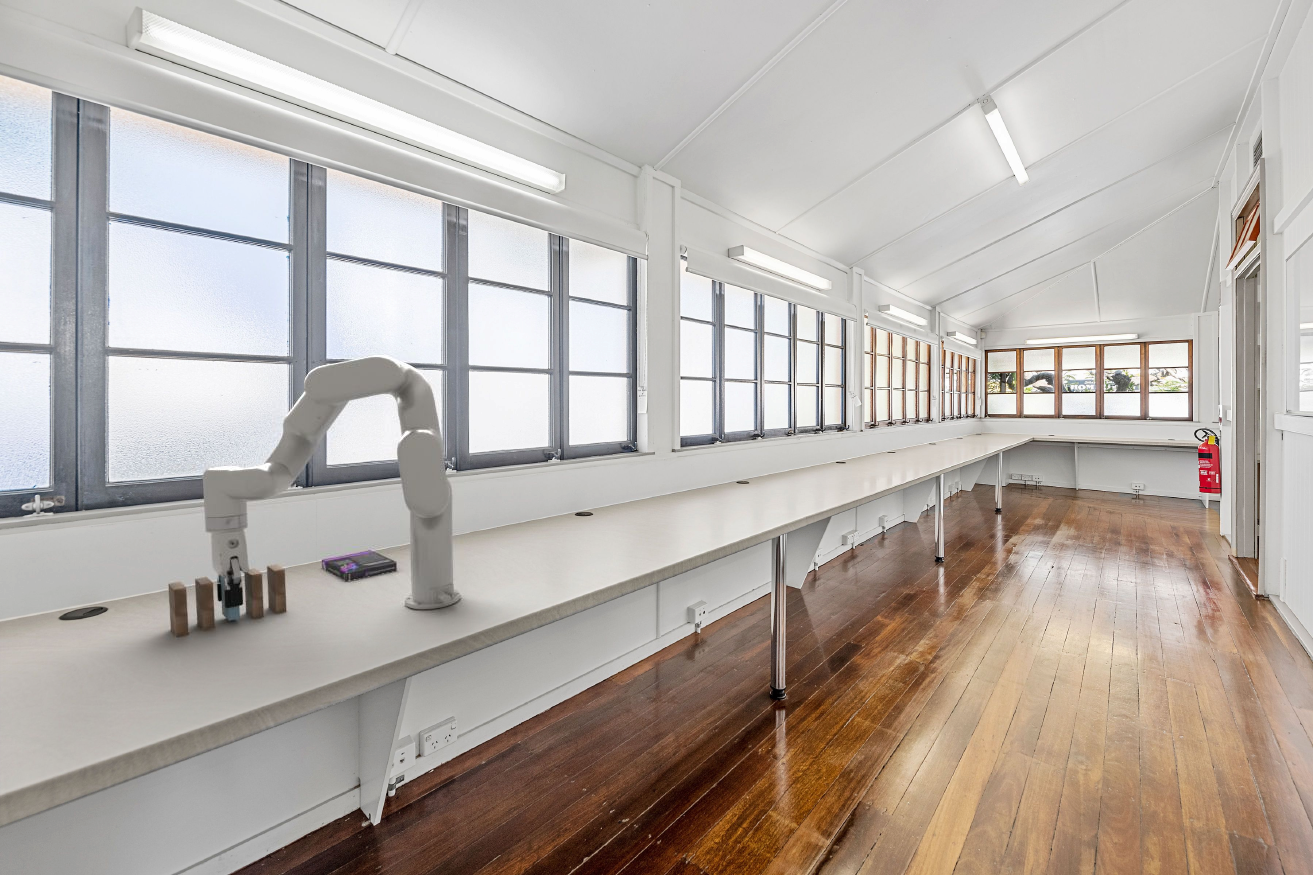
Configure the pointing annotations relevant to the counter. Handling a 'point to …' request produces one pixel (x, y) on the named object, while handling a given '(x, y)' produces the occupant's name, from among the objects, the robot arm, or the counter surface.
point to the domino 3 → (227, 612)
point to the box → (359, 565)
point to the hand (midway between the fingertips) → (230, 602)
